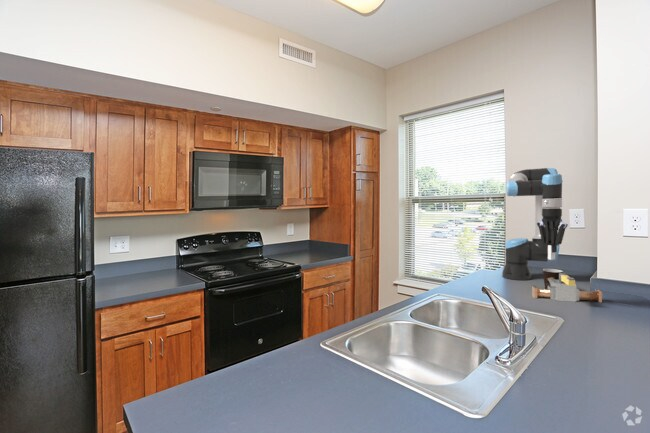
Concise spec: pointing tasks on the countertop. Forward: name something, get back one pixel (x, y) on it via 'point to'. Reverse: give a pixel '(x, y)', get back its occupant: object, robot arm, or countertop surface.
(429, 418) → the countertop surface
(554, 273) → the coffee mug
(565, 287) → the valve body
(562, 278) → the lever
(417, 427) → the countertop surface
